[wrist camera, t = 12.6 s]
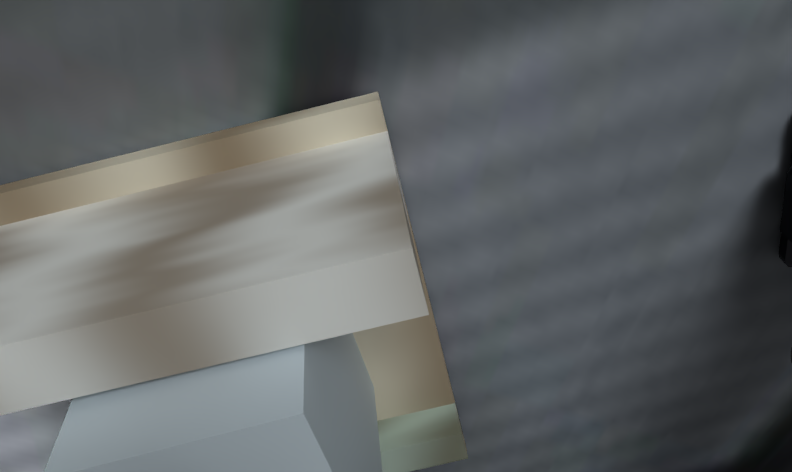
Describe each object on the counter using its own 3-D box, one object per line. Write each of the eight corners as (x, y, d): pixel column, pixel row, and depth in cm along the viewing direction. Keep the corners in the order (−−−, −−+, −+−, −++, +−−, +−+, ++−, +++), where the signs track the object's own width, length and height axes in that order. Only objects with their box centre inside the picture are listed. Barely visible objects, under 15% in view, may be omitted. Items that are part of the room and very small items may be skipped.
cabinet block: (306, 215, 21) (303, 413, 15) (380, 404, 26) (403, 615, 20) (124, 265, 21) (40, 480, 15) (232, 442, 26) (205, 662, 20)
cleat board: (377, 91, 20) (402, 209, 14) (464, 439, 29) (499, 593, 23) (-14, 188, 20) (-135, 339, 15) (191, 501, 29) (164, 666, 24)
